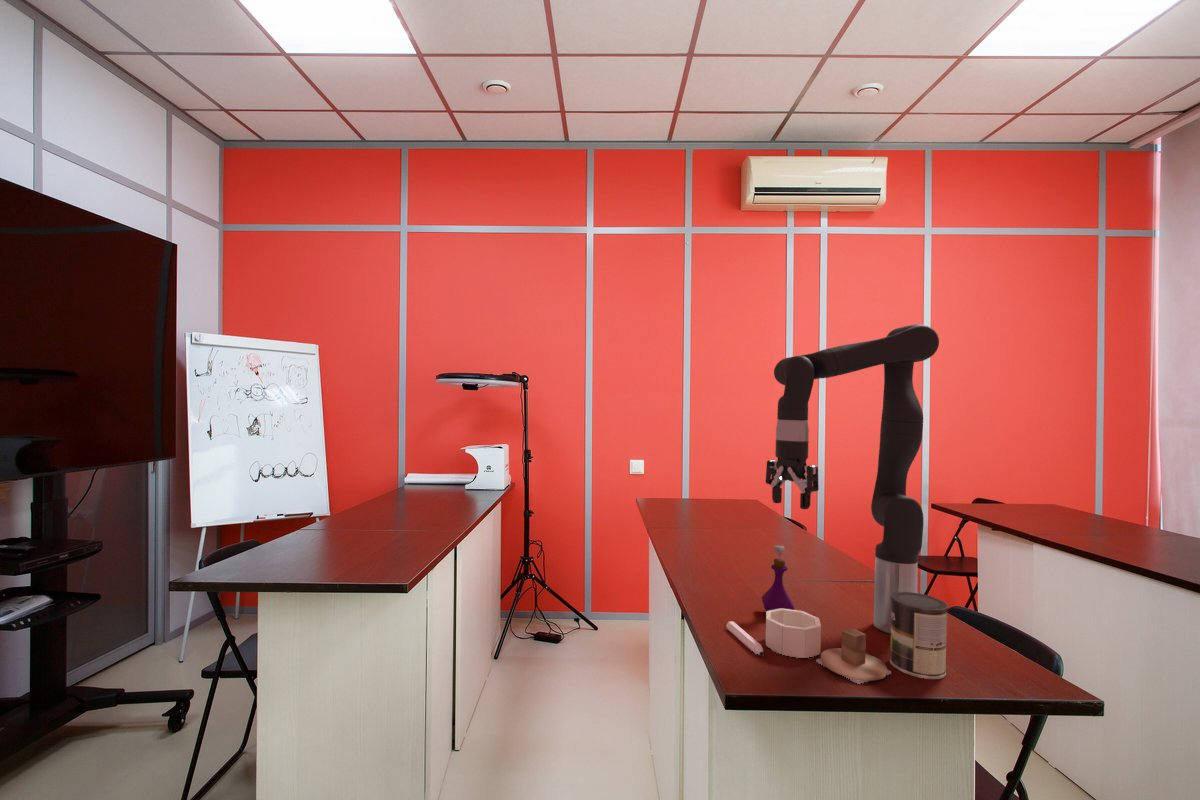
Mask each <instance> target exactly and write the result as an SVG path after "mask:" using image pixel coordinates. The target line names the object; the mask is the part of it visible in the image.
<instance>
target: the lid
mask: <svg viewBox="0 0 1200 800" xmlns="http://www.w3.org/2000/svg"><path fill="white" fill-rule="evenodd" d="M866 638H867V634H866V633H864V632H861V631H860V630H857V629H855V628H848V629H843V630H841V647H838V648H837V647H835V648H828V649H826V650H825V649H824V650H823V651H822V652H820V658H821V662H822V664H823V665H824V666H825V667H824V666H823V667H824V668H827V669H828V670H829V671H831V672H833V673H835V674H837V675H840V676H841V675H842V677H843V676H845V677H848V678H852V679H858V680H866V681H868V682H871V681H878V680H879V681H880V680H882V679H884V678H886V677H887V676H888V675H887V670H888V668H887V665H886V663H884V662H883V661H882V660H880V659H879V658H877V657H875V656H873V655H871V654H869V653H867V652H866V647H867V646H866V644H867V643H866V642H867V641H866ZM886 675H887V676H886ZM845 677H844V678H845Z"/></svg>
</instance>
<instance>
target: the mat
mask: <svg viewBox="0 0 1200 800" xmlns="http://www.w3.org/2000/svg"><path fill="white" fill-rule="evenodd" d="M817 662H818V663H817ZM816 663H817V664H819V665H820V664H821V665H820V666H822V665H823V664H822V662H821V657H820V658H817V659H816ZM822 667H824V668H826V667H825V666H824V665H823V666H822ZM889 674H890V675H892V671H891V670H890V669H887V676H889ZM843 678H845V676H844V677H843ZM847 678H848V677H846V679H847ZM849 679H850V680H849ZM847 680H849V681H851V682H853V683H854V684H856V683H857V685H858V684H859V685H861V683H862V684H865V683H868V682H869V681H866V680H858V679H852V678H848V679H847ZM864 682H865V683H864Z"/></svg>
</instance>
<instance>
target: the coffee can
mask: <svg viewBox="0 0 1200 800" xmlns="http://www.w3.org/2000/svg"><path fill="white" fill-rule="evenodd" d="M891 600H892V605H891V634H890V647H889V648H890V650H889V651H890V653H889V656H890V657H889V663H890V665H891V666H892V667H893V668H895V669H896V670H898V671H899V672H901V673H903V674H906V675H907V676H911V677H914V678H919V679H923V678H924V680H941V679H943V678H945V677H946V676H947V672H946V665H947V664H946V663H947V662H946V661H947V658H946V657H947V629H948V628H947V626H948V625H947V624H948V622H947V621H948V609H949V605H948V604H947V603H946V602H945V601H943V600H942V599H940V598H937V597H935V596H931V595H927V594H923V593H919V592H918V593H911V592H897V593H893V594H892V595H891Z"/></svg>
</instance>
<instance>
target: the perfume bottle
mask: <svg viewBox="0 0 1200 800" xmlns="http://www.w3.org/2000/svg"><path fill="white" fill-rule="evenodd" d="M773 549H774V550H775V552H776V554H778V556H779V557H778V558H774V559H773V564H771V565H770V566H771V567H770V568H771V570H773V571H774V580H773V583H772V586H771V587H769V588H768V589H767V591H765V592H764V594H763V595H762V596H761V601H762V605H763V609H764V610H765V612H766V611H770V610H775V609H780V608H781V609H782V608H784V609H791V610H796V609H795V605H794V604H793V602H792V599H791V598H790V596H789V595H788V592H787V591H786V589H785V586H784V582H783V580H784V579H783V576H784V573H785V572H787V571H788V570H789V568H788V567H787V565H786V563H787V562H786V561H785V560H784V559H781V556H782V554H783V553H784V552H785V546H784V545H773Z"/></svg>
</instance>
